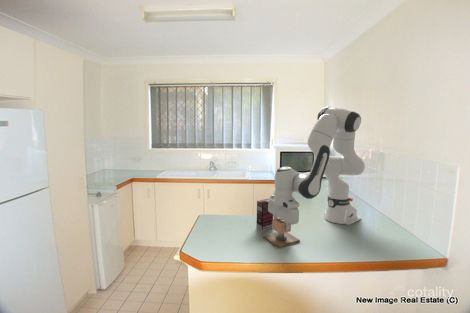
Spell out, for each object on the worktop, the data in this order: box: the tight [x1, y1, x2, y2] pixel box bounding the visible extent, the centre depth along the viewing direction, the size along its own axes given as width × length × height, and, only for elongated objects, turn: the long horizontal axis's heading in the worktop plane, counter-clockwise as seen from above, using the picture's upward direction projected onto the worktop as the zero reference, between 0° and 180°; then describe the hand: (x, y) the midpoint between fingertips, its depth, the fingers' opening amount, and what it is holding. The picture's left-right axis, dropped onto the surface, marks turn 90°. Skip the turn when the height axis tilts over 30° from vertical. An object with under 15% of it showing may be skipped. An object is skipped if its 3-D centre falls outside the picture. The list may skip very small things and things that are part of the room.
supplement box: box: [256, 198, 274, 232], centre depth 149 cm, size 9×5×16 cm, turn 126°
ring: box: [271, 217, 292, 234], centre depth 135 cm, size 7×7×5 cm
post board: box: [262, 220, 301, 249], centre depth 135 cm, size 14×12×10 cm
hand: (281, 226), depth 135 cm, fingers closed on ring, 7 cm apart
